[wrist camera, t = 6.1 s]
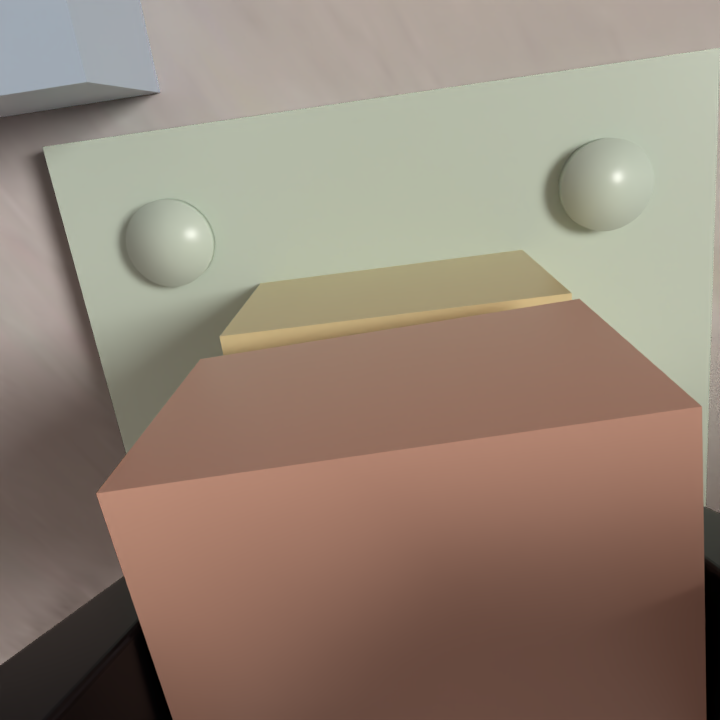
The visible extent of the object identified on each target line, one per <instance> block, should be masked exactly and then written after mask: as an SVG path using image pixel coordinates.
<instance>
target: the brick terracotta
mask: <svg viewBox="0 0 720 720" xmlns="http://www.w3.org/2000/svg"><path fill="white" fill-rule="evenodd" d="M96 495H97V498H98V501H99V504H100V507H101V510H102V513H103V516H104V519H105V521H106V524H107V527H108V530H109V533H110V536H111V539H112V542H113V545H114V548H115V551H116V554H117V557H118V560H119V563H120V566H121V569H122V572H123V574H124V577H125V580H126V583H127V586H128V589H129V592H130V595H131V598H132V601H133V604H134V607H135V610H136V613H137V616H138V619H139V622H140V625H141V627H142V630H143V633H144V636H145V639H146V642H147V645H148V648H149V651H150V654H151V657H152V660H153V663H154V666H155V669H156V672H157V675H158V678H159V680H160V683H161V686H162V689H163V692H164V695H165V698H166V701H167V704H168V707H169V710H170V713H171V716H172V719H173V720H707V718H706V648H705V578H704V509H703V439H702V406H701V405H700V404H699V403H698V402H696V401H695V400H694V399H693V398H692V397H691V396H690V395H688V394H687V393H686V392H685V391H684V390H683V389H682V388H680V387H679V386H678V385H677V384H676V383H675V382H674V381H673V380H671V379H670V378H669V377H668V376H667V375H666V374H665V373H663V372H662V371H661V370H660V369H659V368H658V367H657V366H655V365H654V364H653V363H652V362H651V361H650V360H649V359H648V358H646V357H645V356H644V355H643V354H642V353H641V352H640V351H638V350H637V349H636V348H635V347H634V346H633V345H632V344H630V343H629V342H628V341H627V340H626V339H625V338H624V337H622V336H621V335H620V334H619V333H618V332H617V331H616V330H615V329H613V328H612V327H611V326H610V325H609V324H608V323H607V322H605V321H604V320H603V319H602V318H601V317H600V316H599V315H597V314H596V313H595V312H594V311H593V310H592V309H591V308H589V307H588V306H587V305H586V304H585V303H584V302H583V301H582V300H580V299H575V300H569V301H562V302H556V303H550V304H544V305H537V306H531V307H525V308H518V309H512V310H506V311H500V312H493V313H487V314H481V315H474V316H468V317H462V318H456V319H449V320H443V321H437V322H430V323H424V324H418V325H412V326H405V327H399V328H393V329H386V330H380V331H374V332H368V333H361V334H355V335H349V336H342V337H336V338H330V339H324V340H317V341H311V342H305V343H298V344H292V345H286V346H280V347H273V348H267V349H261V350H254V351H248V352H242V353H236V354H229V355H223V356H217V357H210V358H204V359H200V360H199V361H198V363H197V364H196V365H195V367H194V368H193V369H192V370H191V372H190V373H189V374H188V376H187V377H186V378H185V379H184V381H183V382H182V383H181V385H180V386H179V387H178V388H177V390H176V391H175V392H174V394H173V395H172V396H171V397H170V399H169V400H168V401H167V403H166V404H165V405H164V406H163V408H162V409H161V410H160V412H159V413H158V414H157V416H156V417H155V418H154V419H153V421H152V422H151V423H150V425H149V426H148V427H147V428H146V430H145V431H144V432H143V434H142V435H141V436H140V437H139V439H138V440H137V441H136V443H135V444H134V445H133V446H132V448H131V449H130V450H129V452H128V453H127V454H126V455H125V457H124V458H123V459H122V461H121V462H120V463H119V464H118V466H117V467H116V468H115V470H114V471H113V472H112V474H111V475H110V476H109V477H108V479H107V480H106V481H105V483H104V484H103V485H102V486H101V488H100V489H99V490H98V492H97V493H96Z"/></svg>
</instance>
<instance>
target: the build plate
mask: <svg viewBox="0 0 720 720" xmlns="http://www.w3.org/2000/svg"><path fill="white" fill-rule="evenodd" d="M719 72H720V48H715V49H708V50H701V51H694V52H688V53H681V54H674V55H667V56H660V57H653V58H647V59H640V60H633V61H626V62H619V63H612V64H606V65H599V66H592V67H585V68H578V69H571V70H565V71H558V72H551V73H544V74H537V75H530V76H524V77H517V78H510V79H503V80H496V81H489V82H483V83H476V84H469V85H462V86H455V87H448V88H442V89H435V90H428V91H421V92H414V93H407V94H400V95H394V96H387V97H380V98H373V99H366V100H359V101H353V102H346V103H339V104H332V105H325V106H318V107H312V108H305V109H298V110H291V111H284V112H277V113H271V114H264V115H257V116H250V117H243V118H236V119H230V120H223V121H216V122H209V123H202V124H195V125H189V126H182V127H175V128H168V129H161V130H154V131H148V132H141V133H134V134H127V135H120V136H113V137H107V138H100V139H93V140H86V141H79V142H72V143H65V144H59V145H52V146H45V147H43V151H44V155H45V158H46V162H47V166H48V169H49V173H50V177H51V180H52V184H53V188H54V191H55V195H56V199H57V202H58V206H59V210H60V213H61V217H62V221H63V224H64V228H65V232H66V235H67V239H68V243H69V246H70V250H71V254H72V257H73V261H74V265H75V268H76V272H77V276H78V279H79V283H80V287H81V290H82V294H83V298H84V301H85V305H86V309H87V312H88V316H89V320H90V323H91V327H92V331H93V334H94V338H95V342H96V345H97V349H98V353H99V356H100V360H101V364H102V367H103V371H104V375H105V378H106V382H107V386H108V389H109V393H110V397H111V400H112V404H113V408H114V411H115V415H116V419H117V422H118V426H119V430H120V433H121V437H122V441H123V444H124V448H125V452H126V454H127V453H128V452H129V450H130V449H131V448H132V446H133V445H134V444H135V443H136V441H137V440H138V439H139V437H140V436H141V435H142V434H143V432H144V431H145V430H146V428H147V427H148V426H149V425H150V423H151V422H152V421H153V419H154V418H155V417H156V416H157V414H158V413H159V412H160V410H161V409H162V408H163V406H164V405H165V404H166V403H167V401H168V400H169V399H170V397H171V396H172V395H173V394H174V392H175V391H176V390H177V388H178V387H179V386H180V385H181V383H182V382H183V381H184V379H185V378H186V377H187V376H188V374H189V373H190V372H191V370H192V369H193V368H194V367H195V365H196V364H197V363H198V361H199V360H200V359H204V358H210V357H217V356H223V355H229V354H236V353H242V352H248V351H254V350H261V349H267V348H273V347H280V346H286V345H292V344H298V343H305V342H311V341H317V340H324V339H330V338H336V337H342V336H349V335H355V334H361V333H368V332H374V331H380V330H386V329H393V328H399V327H405V326H412V325H418V324H424V323H430V322H437V321H443V320H449V319H456V318H462V317H468V316H474V315H481V314H487V313H493V312H500V311H506V310H512V309H518V308H525V307H531V306H537V305H544V304H550V303H556V302H562V301H569V300H575V299H580V300H582V301H583V302H584V303H585V304H586V305H587V306H588V307H589V308H591V309H592V310H593V311H594V312H595V313H596V314H597V315H599V316H600V317H601V318H602V319H603V320H604V321H605V322H607V323H608V324H609V325H610V326H611V327H612V328H613V329H615V330H616V331H617V332H618V333H619V334H620V335H621V336H622V337H624V338H625V339H626V340H627V341H628V342H629V343H630V344H632V345H633V346H634V347H635V348H636V349H637V350H638V351H640V352H641V353H642V354H643V355H644V356H645V357H646V358H648V359H649V360H650V361H651V362H652V363H653V364H654V365H655V366H657V367H658V368H659V369H660V370H661V371H662V372H663V373H665V374H666V375H667V376H668V377H669V378H670V379H671V380H673V381H674V382H675V383H676V384H677V385H678V386H679V387H680V388H682V389H683V390H684V391H685V392H686V393H687V394H688V395H690V396H691V397H692V398H693V399H694V400H695V401H696V402H698V403H699V404H700V405H701V406H702V439H703V506H704V507H706V481H707V450H708V418H709V387H710V355H711V324H712V292H713V261H714V229H715V198H716V167H717V135H718V104H719Z"/></svg>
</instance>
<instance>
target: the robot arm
mask: <svg viewBox="0 0 720 720" xmlns="http://www.w3.org/2000/svg"><path fill="white" fill-rule="evenodd" d="M703 509H704V578H705V648H706V718H707V720H720V513H718V512H716V511H713V510H711V509H709V508H707V507H704V506H703ZM0 720H173V719H172V716H171V713H170V710H169V707H168V704H167V701H166V698H165V695H164V692H163V689H162V686H161V683H160V680H159V678H158V675H157V672H156V669H155V666H154V663H153V660H152V657H151V654H150V651H149V648H148V645H147V642H146V639H145V636H144V633H143V630H142V627H141V625H140V622H139V619H138V616H137V613H136V610H135V607H134V604H133V601H132V598H131V595H130V592H129V589H128V586H127V583H126V580H125V577H124V576H123V577H122V578H121V579H119V580H118V581H116V582H115V583H114V584H112V585H111V586H109V587H108V588H107V589H105V590H104V591H103V592H101V593H100V594H98V595H97V596H96V597H94V598H93V599H91V600H90V601H89V602H87V603H86V604H85V605H83V606H82V607H80V608H79V609H78V610H76V611H75V612H74V613H72V614H71V615H69V616H68V617H67V618H65V619H64V620H62V621H61V622H60V623H58V624H57V625H56V626H54V627H53V628H51V629H50V630H49V631H47V632H46V633H44V634H43V635H42V636H40V637H39V638H38V639H36V640H35V641H33V642H32V643H31V644H29V645H28V646H27V647H25V648H24V649H22V650H21V651H20V652H18V653H17V654H15V655H14V656H13V657H11V658H10V659H9V660H7V661H6V662H4V663H3V664H2V665H0Z"/></svg>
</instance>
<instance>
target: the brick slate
mask: <svg viewBox="0 0 720 720" xmlns="http://www.w3.org/2000/svg"><path fill="white" fill-rule="evenodd" d="M154 93H160V89H159V85H158V80H157V76H156V71H155V66H154V62H153V57H152V53H151V48H150V44H149V39H148V35H147V30H146V25H145V21H144V16H143V12H142V7H141V3H140V0H0V117H6V116H13V115H19V114H26V113H32V112H39V111H45V110H51V109H58V108H64V107H71V106H77V105H83V104H90V103H96V102H103V101H109V100H115V99H122V98H128V97H135V96H141V95H147V94H154Z"/></svg>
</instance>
